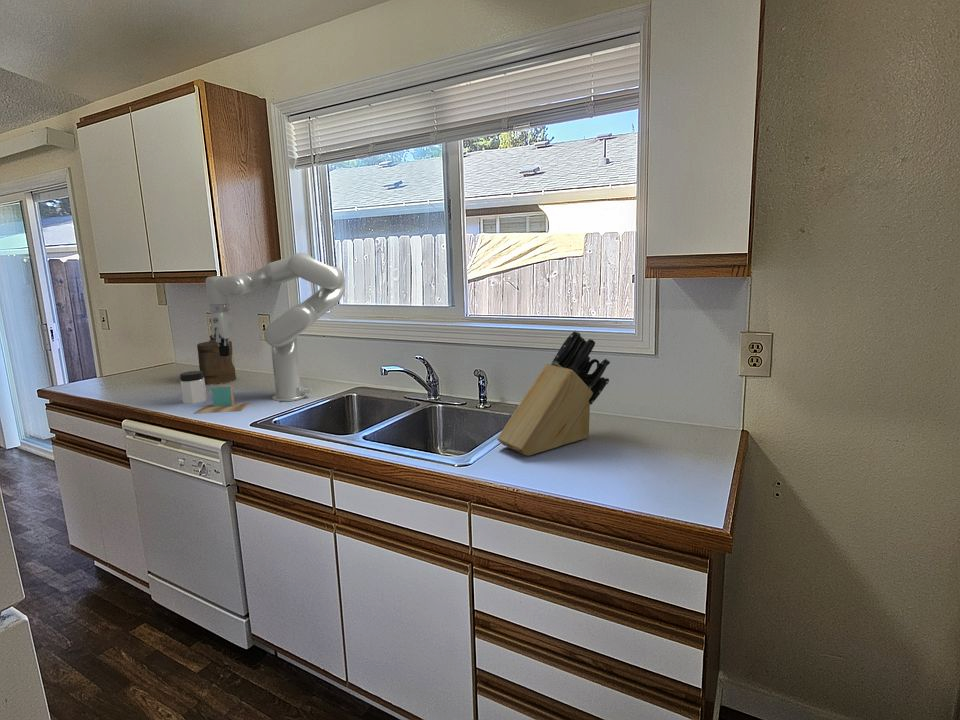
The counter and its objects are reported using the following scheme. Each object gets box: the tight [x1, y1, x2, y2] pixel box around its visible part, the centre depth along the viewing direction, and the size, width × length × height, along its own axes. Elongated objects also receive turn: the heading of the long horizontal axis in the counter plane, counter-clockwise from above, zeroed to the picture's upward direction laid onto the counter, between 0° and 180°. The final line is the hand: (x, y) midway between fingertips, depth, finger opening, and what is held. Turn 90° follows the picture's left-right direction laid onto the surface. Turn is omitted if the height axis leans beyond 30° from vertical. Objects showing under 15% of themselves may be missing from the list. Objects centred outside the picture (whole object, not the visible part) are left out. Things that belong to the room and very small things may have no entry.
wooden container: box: [196, 334, 237, 385], centre depth 256 cm, size 15×15×22 cm
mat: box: [193, 402, 252, 414], centre depth 208 cm, size 17×12×1 cm
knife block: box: [496, 330, 611, 456], centre depth 158 cm, size 11×35×31 cm, turn 125°
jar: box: [179, 370, 208, 405], centre depth 219 cm, size 9×8×12 cm
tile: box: [210, 384, 235, 407], centre depth 210 cm, size 7×2×8 cm, turn 94°
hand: (224, 355), depth 215 cm, fingers closed
